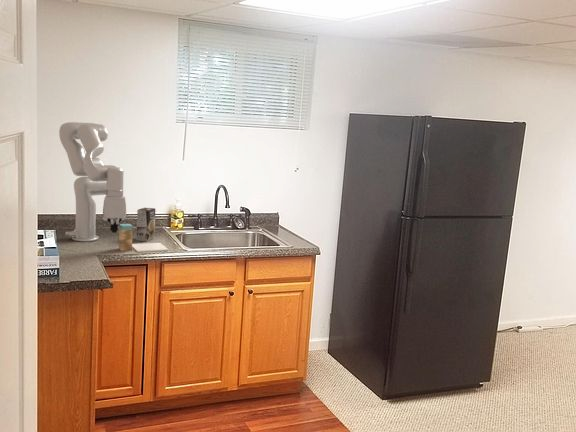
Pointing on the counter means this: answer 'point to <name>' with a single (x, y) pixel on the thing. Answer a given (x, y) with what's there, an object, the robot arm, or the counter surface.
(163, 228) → the counter surface
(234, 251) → the counter surface
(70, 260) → the counter surface
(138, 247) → the cutting board
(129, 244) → the tan jar
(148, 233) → the coffee box
